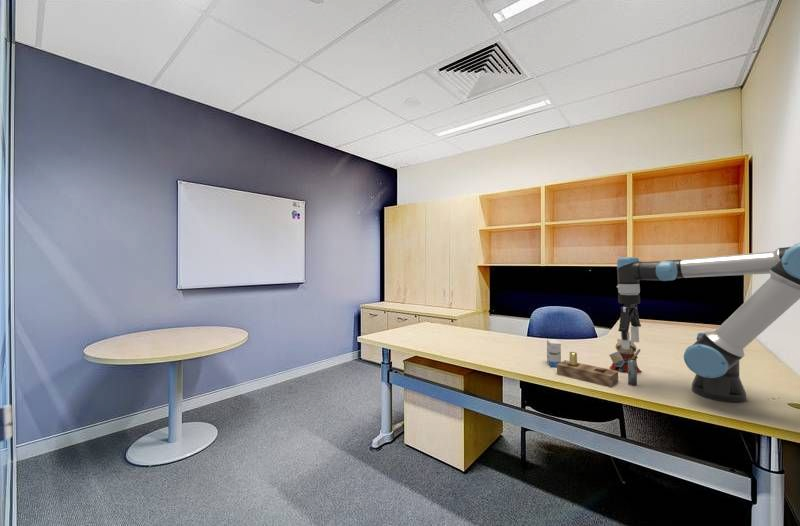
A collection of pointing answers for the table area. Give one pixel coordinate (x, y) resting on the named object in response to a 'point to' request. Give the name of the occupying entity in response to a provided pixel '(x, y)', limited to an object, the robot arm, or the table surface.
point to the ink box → (553, 352)
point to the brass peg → (573, 359)
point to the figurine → (624, 356)
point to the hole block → (588, 373)
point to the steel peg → (632, 372)
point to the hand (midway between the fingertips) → (630, 344)
